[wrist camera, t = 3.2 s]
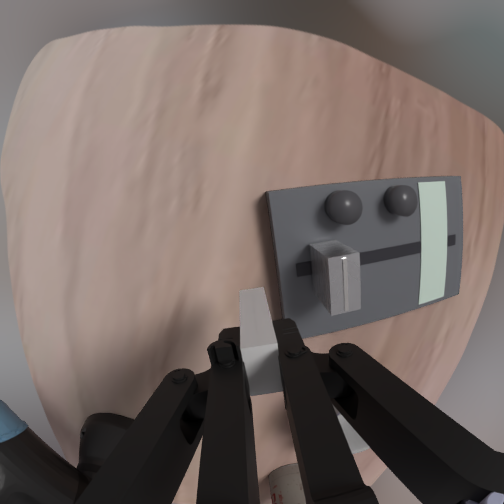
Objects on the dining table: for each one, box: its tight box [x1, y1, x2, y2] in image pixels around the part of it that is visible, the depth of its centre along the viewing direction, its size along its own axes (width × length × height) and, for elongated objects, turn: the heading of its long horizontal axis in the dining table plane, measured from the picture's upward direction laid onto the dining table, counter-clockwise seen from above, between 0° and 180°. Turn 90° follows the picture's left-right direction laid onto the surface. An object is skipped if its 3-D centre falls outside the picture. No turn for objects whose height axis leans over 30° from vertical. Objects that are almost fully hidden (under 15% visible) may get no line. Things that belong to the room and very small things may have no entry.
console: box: [266, 176, 463, 339], centre depth 24 cm, size 22×14×4 cm, turn 98°
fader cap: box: [309, 240, 361, 316], centre depth 21 cm, size 2×4×5 cm, turn 9°
